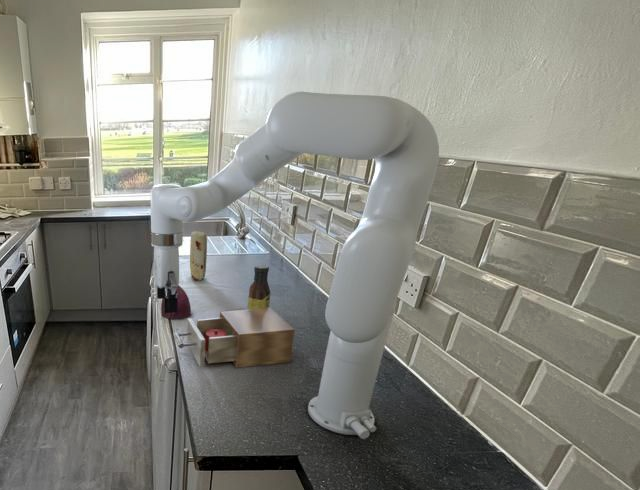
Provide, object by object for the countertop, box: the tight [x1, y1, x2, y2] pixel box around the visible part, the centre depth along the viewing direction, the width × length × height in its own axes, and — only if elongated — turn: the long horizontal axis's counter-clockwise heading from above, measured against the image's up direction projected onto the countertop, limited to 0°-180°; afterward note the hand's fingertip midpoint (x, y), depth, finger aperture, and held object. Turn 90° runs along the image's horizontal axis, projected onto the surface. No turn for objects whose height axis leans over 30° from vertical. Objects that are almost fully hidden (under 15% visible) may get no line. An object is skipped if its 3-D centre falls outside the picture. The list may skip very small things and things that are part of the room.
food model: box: [189, 230, 208, 281], centre depth 166 cm, size 10×7×20 cm
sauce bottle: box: [247, 264, 271, 309], centre depth 121 cm, size 6×6×20 cm
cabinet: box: [219, 306, 296, 368], centre depth 110 cm, size 15×15×10 cm
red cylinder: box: [205, 329, 226, 351], centre depth 109 cm, size 5×5×6 cm
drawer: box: [172, 317, 238, 368], centre depth 109 cm, size 18×14×8 cm
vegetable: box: [160, 284, 192, 320], centre depth 134 cm, size 10×10×15 cm
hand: (166, 304), depth 103 cm, fingers open, 9 cm apart
